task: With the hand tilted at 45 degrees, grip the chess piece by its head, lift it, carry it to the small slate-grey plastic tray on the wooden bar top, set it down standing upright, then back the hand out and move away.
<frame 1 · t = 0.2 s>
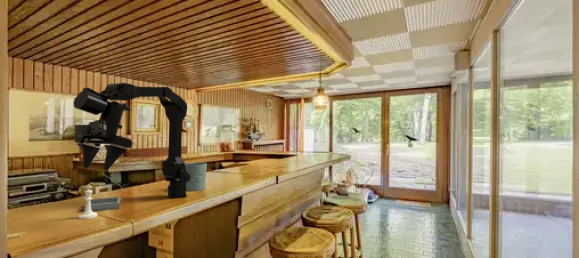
hand: (95, 168, 86), 15 cm above the worktop, tool tilted 15°, fingers open, 9 cm apart
tray: (103, 206, 99), on the worktop
grey cylinder: (195, 189, 131), on the worktop
chess piece: (87, 217, 88), on the worktop
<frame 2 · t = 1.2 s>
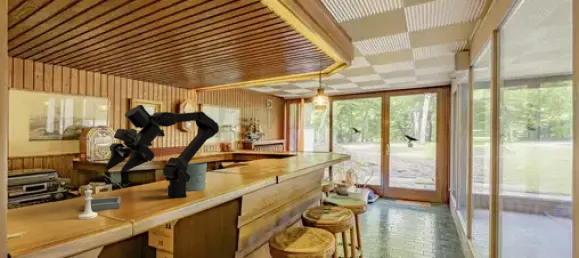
hand: (113, 170, 94), 14 cm above the worktop, tool tilted 45°, fingers open, 9 cm apart
nothing on the worktop moved.
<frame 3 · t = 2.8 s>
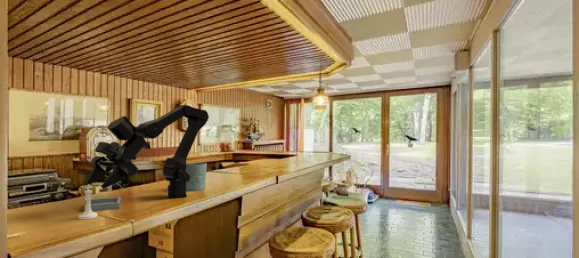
hand: (94, 186, 89), 9 cm above the worktop, tool tilted 45°, fingers open, 9 cm apart
nothing on the worktop moved.
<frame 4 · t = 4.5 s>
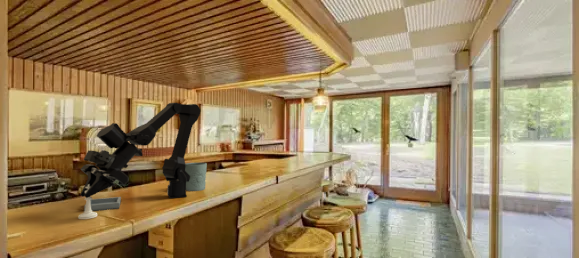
hand: (83, 196, 87), 7 cm above the worktop, tool tilted 45°, fingers closed on chess piece
chess piece: (87, 217, 88), on the worktop, touching gripper
everything else where it was.
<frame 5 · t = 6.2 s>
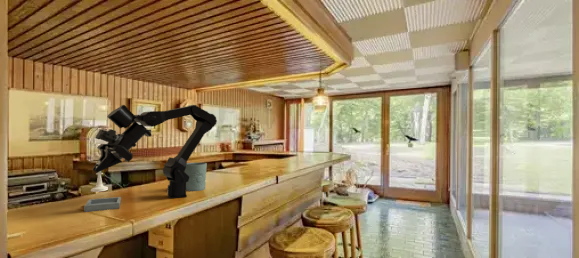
hand: (94, 171, 95), 13 cm above the worktop, tool tilted 45°, fingers closed on chess piece
chess piece: (99, 190, 96), point 6 cm above the worktop, touching gripper
everything else where it was.
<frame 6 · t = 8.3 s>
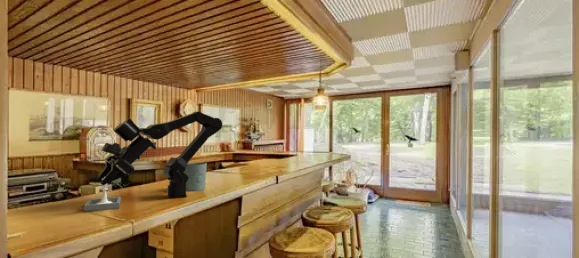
hand: (99, 182, 98), 9 cm above the worktop, tool tilted 45°, fingers open, 7 cm apart
chess piece: (104, 205, 99), resting on tray
everything else where it was.
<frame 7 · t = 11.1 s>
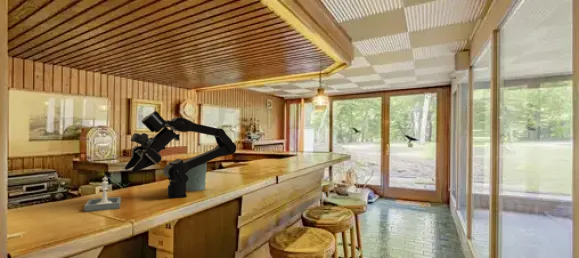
hand: (128, 170, 104), 12 cm above the worktop, tool tilted 45°, fingers open, 9 cm apart
nothing on the worktop moved.
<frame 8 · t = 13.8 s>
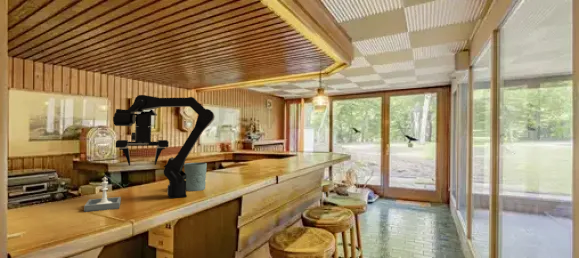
hand: (142, 165, 114), 13 cm above the worktop, tool pointing down, fingers open, 9 cm apart
nothing on the worktop moved.
at the end: chess piece 0.2 cm off-centre on the tray, point 0.3 cm above the tray's base; chess piece tilted 0°; the gripper is holding nothing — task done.
